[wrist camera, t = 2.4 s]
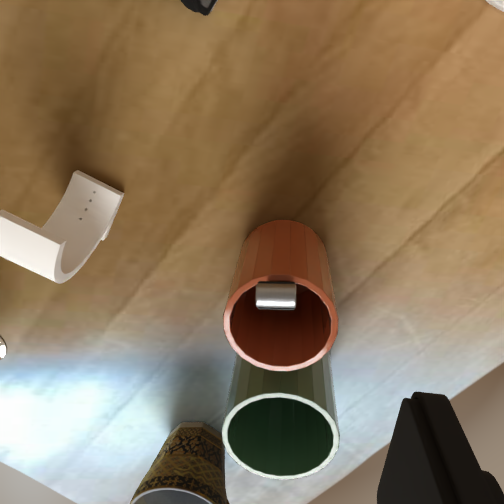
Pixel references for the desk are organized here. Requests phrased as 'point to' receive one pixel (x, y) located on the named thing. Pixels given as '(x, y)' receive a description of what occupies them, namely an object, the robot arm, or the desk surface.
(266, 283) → the tongs
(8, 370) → the desk surface
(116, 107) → the desk surface
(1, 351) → the wineglass
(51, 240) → the headphone stand
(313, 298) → the terracotta cup
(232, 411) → the green cup
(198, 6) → the electric trimmer
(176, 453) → the ceramic cup
